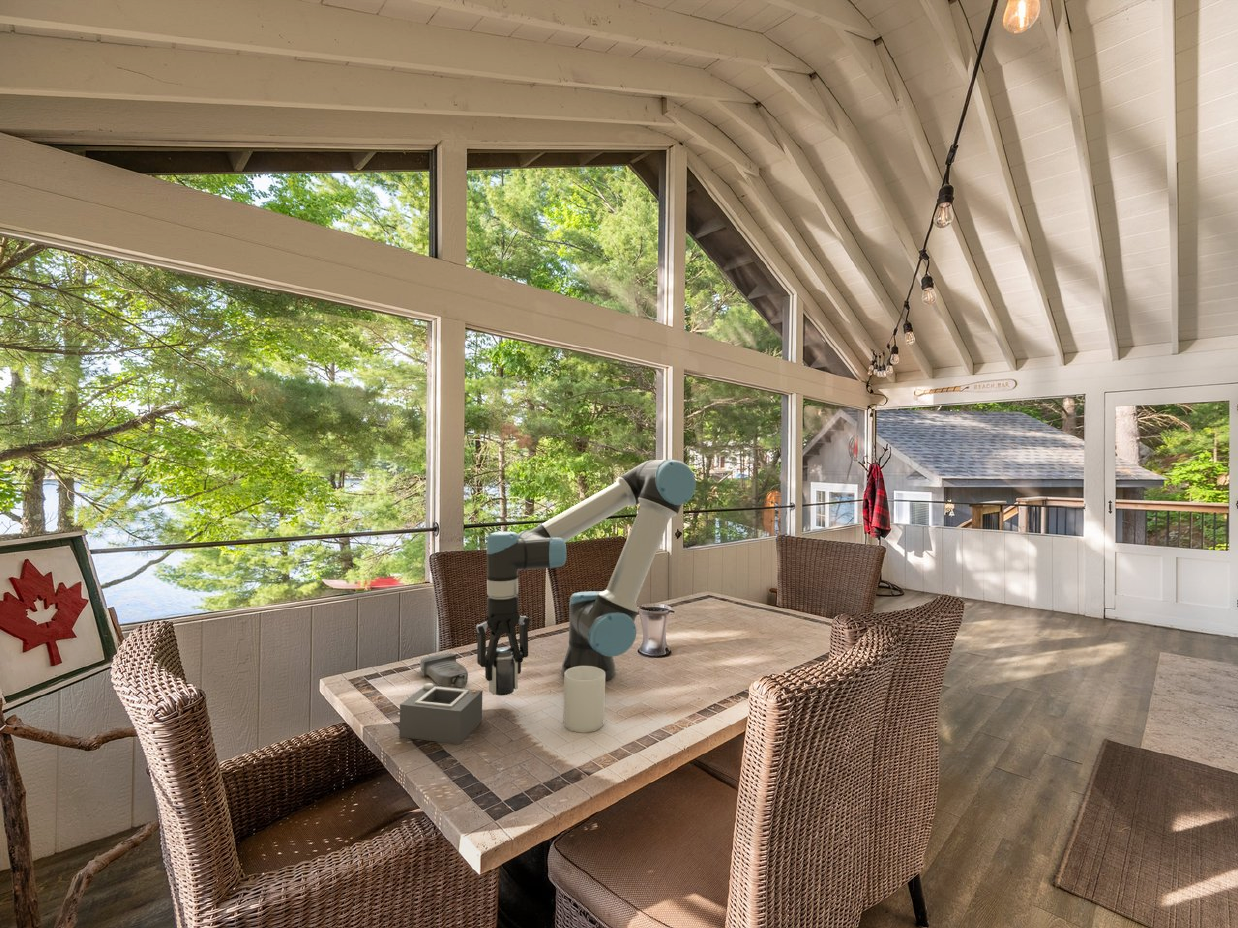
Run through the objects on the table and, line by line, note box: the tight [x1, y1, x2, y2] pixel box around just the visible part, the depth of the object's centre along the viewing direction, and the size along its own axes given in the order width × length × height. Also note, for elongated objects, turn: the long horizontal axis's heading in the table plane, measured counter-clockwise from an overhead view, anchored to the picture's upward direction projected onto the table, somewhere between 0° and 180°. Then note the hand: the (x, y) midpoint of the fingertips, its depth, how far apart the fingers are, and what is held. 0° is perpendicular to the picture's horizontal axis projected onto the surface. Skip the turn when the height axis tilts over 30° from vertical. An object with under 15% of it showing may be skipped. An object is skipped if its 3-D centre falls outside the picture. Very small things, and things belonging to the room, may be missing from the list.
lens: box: [493, 646, 515, 697], centre depth 138 cm, size 5×5×10 cm
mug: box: [562, 666, 606, 734], centre depth 130 cm, size 10×12×12 cm
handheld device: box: [419, 652, 469, 688], centre depth 154 cm, size 10×20×5 cm, turn 41°
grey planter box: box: [398, 682, 483, 745], centre depth 126 cm, size 14×11×8 cm
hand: (503, 689), depth 138 cm, fingers closed on lens, 5 cm apart
